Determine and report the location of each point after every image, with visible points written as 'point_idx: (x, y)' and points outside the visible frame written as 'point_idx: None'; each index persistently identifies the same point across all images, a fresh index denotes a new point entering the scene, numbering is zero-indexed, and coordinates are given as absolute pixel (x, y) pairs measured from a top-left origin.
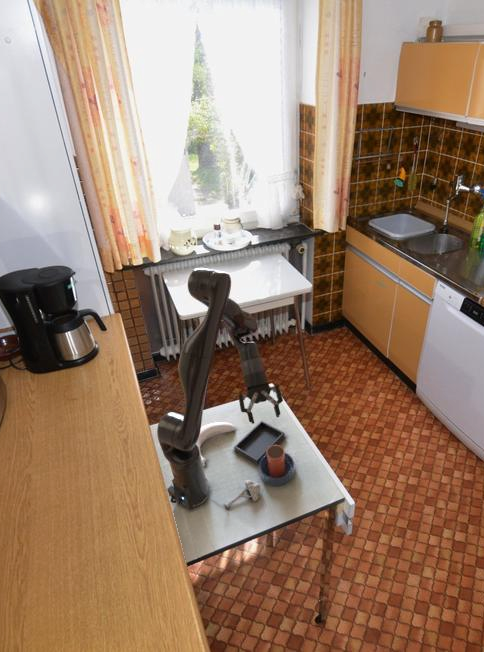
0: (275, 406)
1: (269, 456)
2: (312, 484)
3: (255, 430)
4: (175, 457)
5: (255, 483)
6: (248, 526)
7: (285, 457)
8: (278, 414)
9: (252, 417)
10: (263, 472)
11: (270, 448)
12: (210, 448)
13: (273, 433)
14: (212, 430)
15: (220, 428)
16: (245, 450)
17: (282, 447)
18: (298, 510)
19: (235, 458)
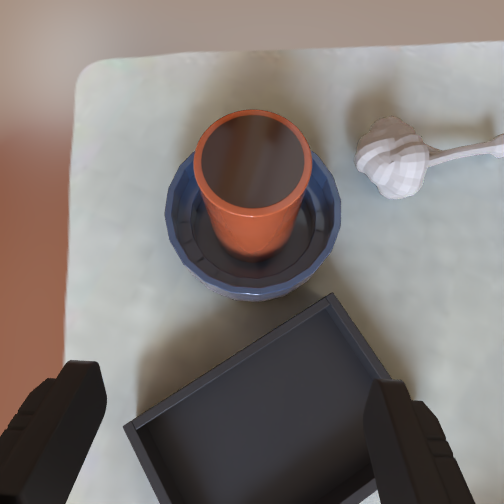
0: (10, 487)
1: (300, 142)
2: (145, 126)
3: None
4: None
5: (378, 154)
6: (423, 62)
7: (191, 259)
8: (63, 375)
9: (406, 437)
10: (320, 217)
11: (273, 195)
12: None
13: (180, 474)
14: None
15: None
16: (363, 412)
17: (195, 176)
18: (240, 56)
19: (421, 386)
